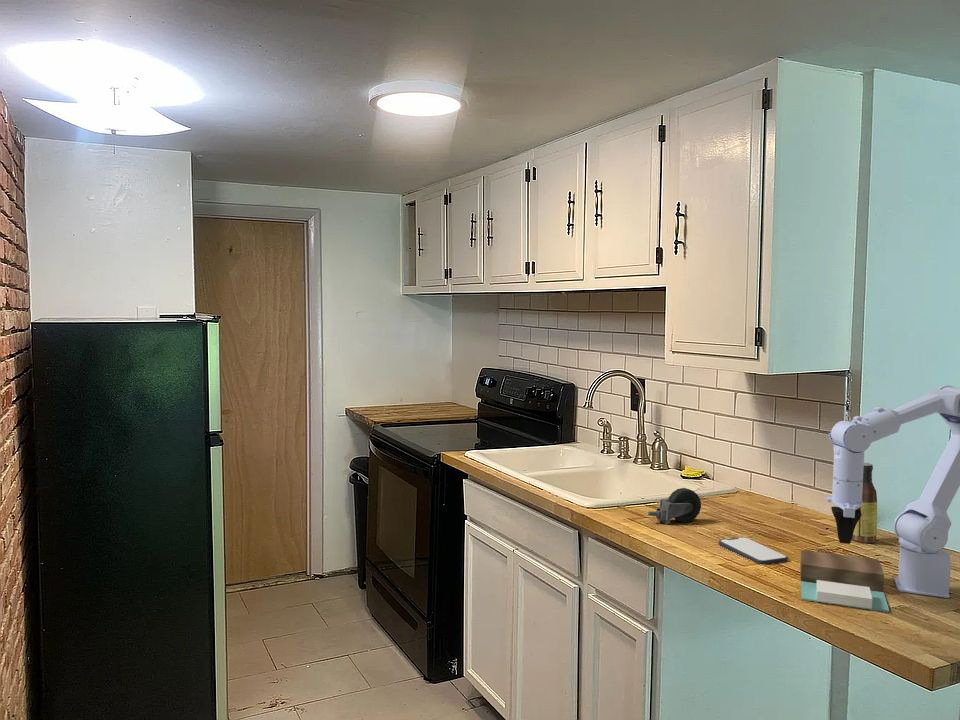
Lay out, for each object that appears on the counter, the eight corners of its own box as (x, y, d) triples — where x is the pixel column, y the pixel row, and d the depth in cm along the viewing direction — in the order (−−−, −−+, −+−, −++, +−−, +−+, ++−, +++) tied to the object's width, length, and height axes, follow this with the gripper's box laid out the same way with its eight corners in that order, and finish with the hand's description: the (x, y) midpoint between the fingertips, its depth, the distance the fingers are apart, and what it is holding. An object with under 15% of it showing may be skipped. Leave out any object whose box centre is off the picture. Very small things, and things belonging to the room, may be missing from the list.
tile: (872, 599, 155) (871, 608, 155) (869, 587, 161) (868, 596, 161) (817, 591, 159) (816, 600, 159) (816, 579, 165) (816, 589, 165)
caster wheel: (691, 521, 220) (642, 518, 216) (695, 487, 219) (647, 484, 216) (701, 526, 214) (652, 524, 211) (706, 492, 214) (656, 489, 210)
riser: (877, 577, 174) (878, 559, 174) (883, 593, 164) (884, 574, 164) (800, 566, 180) (801, 550, 180) (800, 582, 170) (801, 564, 170)
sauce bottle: (879, 540, 201) (883, 464, 199) (871, 545, 196) (876, 467, 195) (852, 534, 206) (856, 460, 204) (844, 540, 201) (848, 463, 199)
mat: (883, 594, 164) (883, 592, 164) (889, 612, 154) (889, 610, 154) (800, 582, 170) (800, 581, 170) (801, 600, 160) (801, 598, 160)
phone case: (790, 564, 184) (744, 542, 199) (791, 557, 184) (745, 536, 199) (760, 568, 181) (716, 546, 196) (760, 561, 181) (716, 539, 196)
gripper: (825, 470, 172) (822, 530, 173) (828, 484, 159) (825, 550, 160) (860, 473, 170) (857, 534, 171) (867, 488, 156) (864, 554, 157)
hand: (844, 542), depth 165 cm, fingers closed
